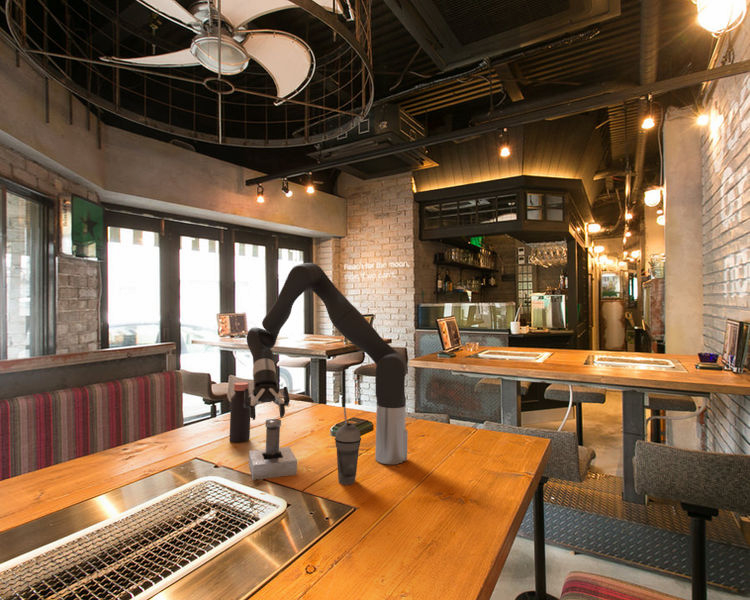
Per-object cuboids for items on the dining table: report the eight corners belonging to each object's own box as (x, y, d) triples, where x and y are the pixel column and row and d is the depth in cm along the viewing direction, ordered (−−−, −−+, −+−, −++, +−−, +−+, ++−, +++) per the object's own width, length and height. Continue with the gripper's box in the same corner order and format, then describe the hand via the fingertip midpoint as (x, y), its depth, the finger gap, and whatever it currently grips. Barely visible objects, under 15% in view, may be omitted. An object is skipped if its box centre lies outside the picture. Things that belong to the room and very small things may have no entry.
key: (278, 465, 121) (279, 418, 121) (280, 471, 117) (282, 422, 117) (263, 467, 119) (264, 419, 119) (265, 473, 115) (266, 423, 115)
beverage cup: (356, 488, 106) (358, 412, 107) (330, 485, 108) (332, 410, 108) (362, 477, 114) (364, 406, 114) (338, 474, 115) (339, 404, 116)
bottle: (253, 439, 144) (255, 383, 144) (238, 444, 138) (240, 386, 139) (241, 435, 147) (242, 381, 148) (225, 440, 142) (227, 383, 142)
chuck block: (288, 459, 126) (289, 446, 126) (296, 474, 114) (297, 460, 115) (248, 464, 121) (249, 450, 121) (252, 480, 110) (253, 465, 110)
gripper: (243, 369, 133) (245, 412, 122) (287, 367, 138) (292, 409, 127) (241, 382, 138) (243, 425, 127) (284, 380, 143) (289, 421, 132)
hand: (268, 417), depth 127 cm, fingers open, 8 cm apart
